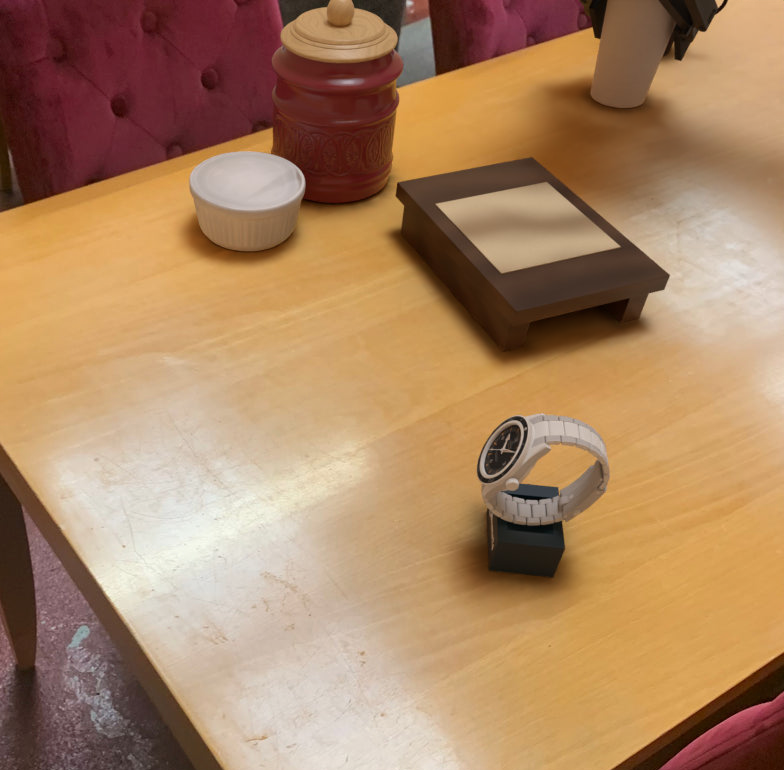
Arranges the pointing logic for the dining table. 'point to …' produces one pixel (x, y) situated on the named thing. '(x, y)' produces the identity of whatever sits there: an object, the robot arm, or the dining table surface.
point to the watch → (534, 491)
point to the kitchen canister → (337, 101)
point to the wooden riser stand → (523, 248)
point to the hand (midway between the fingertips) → (642, 38)
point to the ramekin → (247, 199)
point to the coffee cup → (630, 51)
